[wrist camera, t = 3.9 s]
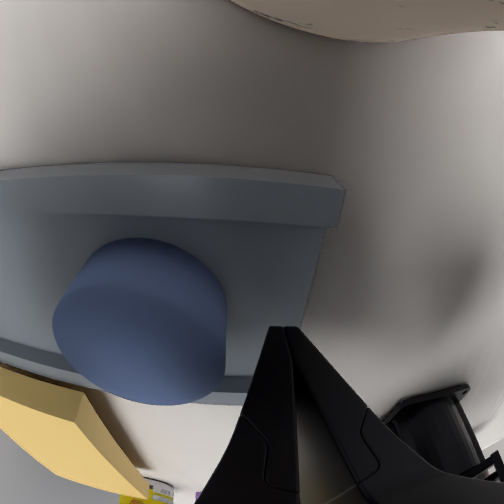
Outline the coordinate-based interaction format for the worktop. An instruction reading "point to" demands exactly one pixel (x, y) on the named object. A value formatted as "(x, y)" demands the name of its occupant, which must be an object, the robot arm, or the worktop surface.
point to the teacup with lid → (382, 17)
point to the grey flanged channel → (166, 230)
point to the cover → (65, 435)
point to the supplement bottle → (152, 494)
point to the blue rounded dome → (145, 323)
